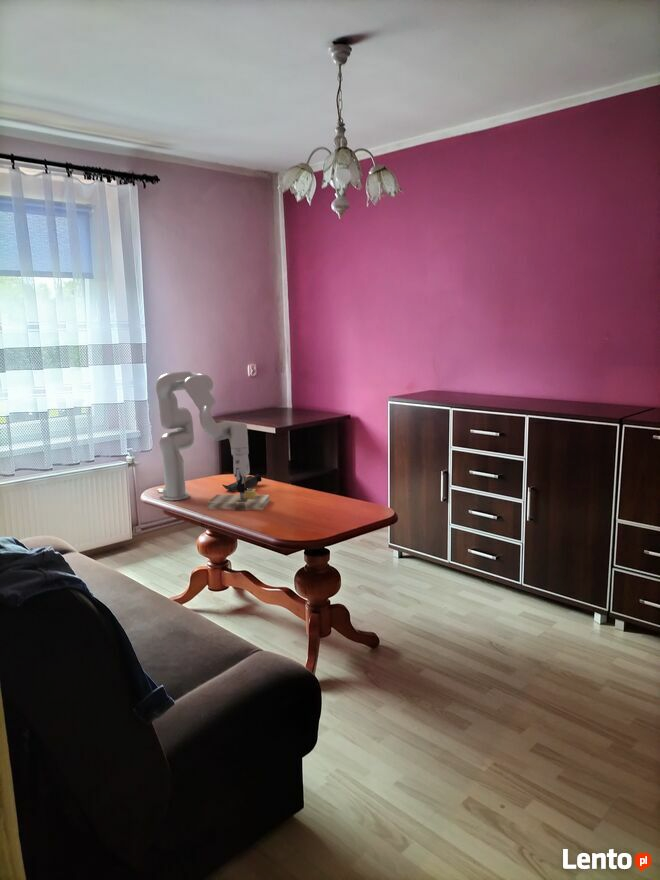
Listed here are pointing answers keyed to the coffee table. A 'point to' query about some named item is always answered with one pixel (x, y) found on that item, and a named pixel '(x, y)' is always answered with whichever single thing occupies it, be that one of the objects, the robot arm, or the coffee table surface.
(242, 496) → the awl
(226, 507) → the board
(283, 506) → the coffee table surface
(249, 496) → the block
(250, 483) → the hammer
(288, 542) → the coffee table surface
